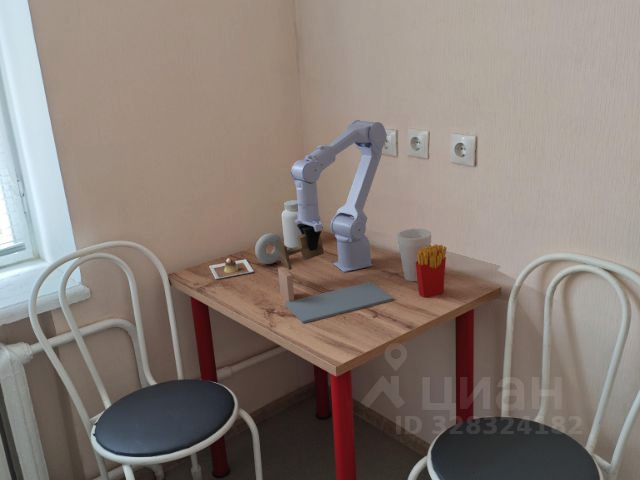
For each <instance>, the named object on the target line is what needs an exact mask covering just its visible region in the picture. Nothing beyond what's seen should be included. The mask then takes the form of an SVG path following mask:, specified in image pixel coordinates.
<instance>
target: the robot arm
mask: <svg viewBox="0 0 640 480" xmlns="http://www.w3.org/2000/svg"><path fill="white" fill-rule="evenodd" d="M386 139H387V132H386V129H385V126H384V124H383V123H381V122H379V121H377V122H374V121H364V120H360V119H357V120H354V121H351V123H350V124H348V125H347V126H346V129H345V130H344V131H343V132H342V133H340V135H339V136H338V137H336V138H335V139H334V140H333V141H332V142H330V144H328V145H327V144H322V145H321V144H319V145H317V147H316V149H315V150H313V151H312V152H311V153H310V154H307V155H305V158H303V159H299V160H296V161H295V162H294V163H293V164H292V165H291V170H290V171H289V173H290V174H289V175H290V176H291V178H292V179H293V181H294V185H295V189H296V200H297V202H298V212H297V218H298V219H296V220H295V222H296V223H301V224H297V227H298V228H299V230H300V231H301V234H305V236H306V238H307V242H308V247H309V250H310V251H313V250H317V247H318V241H319V236H320V237H321V233H322V231H323V229H324V226H323V223H322V222H321V217H320V210H319V209H320V208H319V199H318V198H319V197H318V186H317V185H318V184H317V182H318V181H319V178H320V176H321V174H322V173H323V171H324V170H326V169H327V168H328V167H329V166H331V165H332V164H333V163H335V162H336V156H337V155H338V154H341V152H342V151H344V150H346V149H348V148H349V147H351V146H352V145H355V146H356V147H357V149H358V150H359V151H360V153H361V158H360V160H359V163H358V167H357V169H356V173H355V175H354V178H353V181H352V185H351V187H350V190H349V192H348V193H349V194H348V196H347V199H346V201H345V204H344V205H342V206H341V207H339V208H338V209H337V211H336V213H335V215H334V216H333V218H331V221H330V231H331V232H332V234H334V238H336V245H337V246H336V248H337V261H335V262H333V265H334V266H335V267H337V268H338V269H339V270H341V271H342V272H344V273H347V272H351V271H352V272H353V271H356V270H360V269H364V268H369V267H372V266H373V264H372V258H371V257H372V256H371V245H370V240H369V238H368V237H367V236H366V235H365V234H366V229H367V222H368V217H367V215H366V214H365V212H364V208H365V205H366V201H367V199H368V196H369V193H370V190H371V187H372V185H373V181H374V179H375V176H376V172H377V169H378V168H379V164H380V162H381V158H382V155H383V147H384V145H385V141H386Z"/></svg>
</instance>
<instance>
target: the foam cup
mask: <svg viewBox="0 0 640 480" xmlns="http://www.w3.org/2000/svg"><path fill="white" fill-rule="evenodd" d="M431 243H432V232H431V231H429V230H427V229H423V228H408V229H407V228H406V229H402V230H400V231H399V232H397V244H398V249H399V254H400V260H401V265H402V272H403V276H404V279H405V280H407V281H410V282H418V280H417V272H416V262H417V261H418V258H417V253H418V252H419V250H420V249H423V248H425V249H426V246H428V247H429V245H431Z"/></svg>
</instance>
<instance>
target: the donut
mask: <svg viewBox="0 0 640 480" xmlns="http://www.w3.org/2000/svg"><path fill="white" fill-rule="evenodd" d="M276 240H280V241H281V242H282V243H283V244H284V239H283V238H282V237H281V236H280V235H279V234H277V233H274V232H270V233H265V234H263V235H262V236H261V237H259V239H258V240H257V241H256V243H255V247H254V249H255V250H254V253H255V257H256V258H257V259H258V261H259V262H260V263H263V264H266V265H273V264H274V263H277V262H278V261H279V260H281V259H280V256H279V252H278V248H277V244H276ZM268 245H273V249H272V251H271V252H270V253H268V252H267V247H268ZM284 245H285V244H284Z"/></svg>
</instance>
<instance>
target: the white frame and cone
mask: <svg viewBox="0 0 640 480" xmlns="http://www.w3.org/2000/svg"><path fill="white" fill-rule="evenodd" d="M238 264H243V265H244V266H245V268H246V269H247V272H241V273H236V272H238V271H239V267H238ZM221 267H224V268H223V269H224V270H223V272H224V273H226V274H231V275H225V276H220V277H219V275H218V273H217V271H216V270H215V269H216V268H221ZM209 269H210V271H211V273H212V275H213V277H214V278H215V279H216V280H220V279H225V278H226V279H227V278H232V277H237V276H241V275H242V276H243V275H246V274H251V273H254V272H255V271H254V269H253V267H252V266H251V264H250V263H249V262H248V260H247V259H246V258H245V259H240V260H233V258H230V257H228V258H227V259H226V261H225V262H223V263H218V264H213V265H209ZM232 273H236V274H232Z"/></svg>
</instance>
